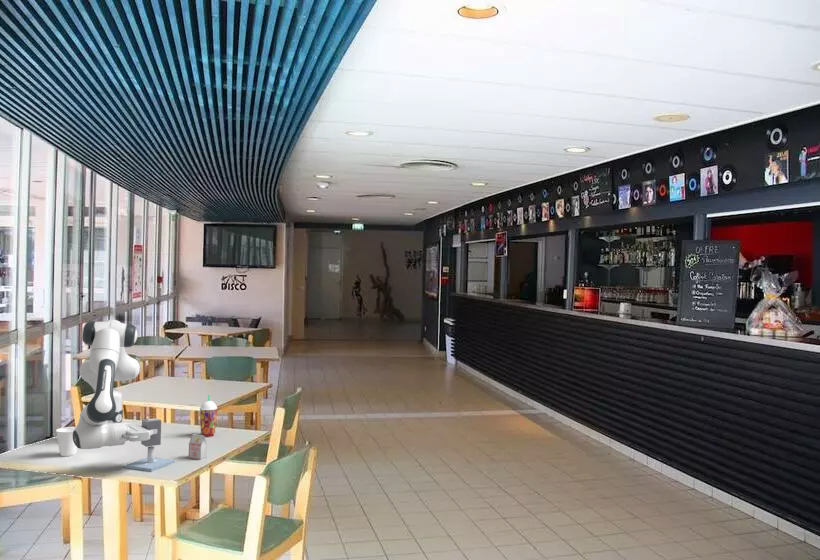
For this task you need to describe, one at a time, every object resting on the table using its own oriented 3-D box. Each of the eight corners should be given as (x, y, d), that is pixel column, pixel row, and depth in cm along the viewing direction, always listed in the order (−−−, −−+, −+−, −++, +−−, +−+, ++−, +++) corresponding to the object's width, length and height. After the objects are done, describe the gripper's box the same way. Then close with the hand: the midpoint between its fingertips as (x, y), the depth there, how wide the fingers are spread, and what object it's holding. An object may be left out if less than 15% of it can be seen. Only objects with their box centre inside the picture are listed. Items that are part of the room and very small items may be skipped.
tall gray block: (146, 446, 258) (147, 421, 258) (141, 443, 262) (142, 418, 262) (160, 444, 261) (161, 419, 262) (155, 441, 266) (156, 417, 266)
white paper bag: (194, 455, 278) (195, 433, 278) (206, 457, 275) (207, 434, 275) (188, 457, 274) (189, 434, 274) (200, 459, 272) (201, 436, 272)
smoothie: (209, 432, 320) (210, 393, 320) (220, 435, 315) (221, 395, 315) (195, 435, 313) (196, 395, 313) (205, 438, 308) (207, 397, 308)
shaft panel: (125, 468, 257) (125, 449, 257) (149, 459, 270) (149, 441, 270) (151, 471, 253) (152, 453, 253) (174, 462, 266) (175, 444, 266)
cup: (86, 453, 277) (86, 428, 277) (67, 459, 268) (68, 433, 268) (68, 450, 280) (69, 425, 280) (49, 456, 271) (50, 430, 271)
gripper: (127, 430, 245) (163, 426, 255) (110, 421, 261) (145, 417, 270) (127, 447, 245) (162, 441, 255) (110, 436, 261) (144, 432, 270)
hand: (153, 429), depth 262 cm, fingers closed on tall gray block, 6 cm apart
